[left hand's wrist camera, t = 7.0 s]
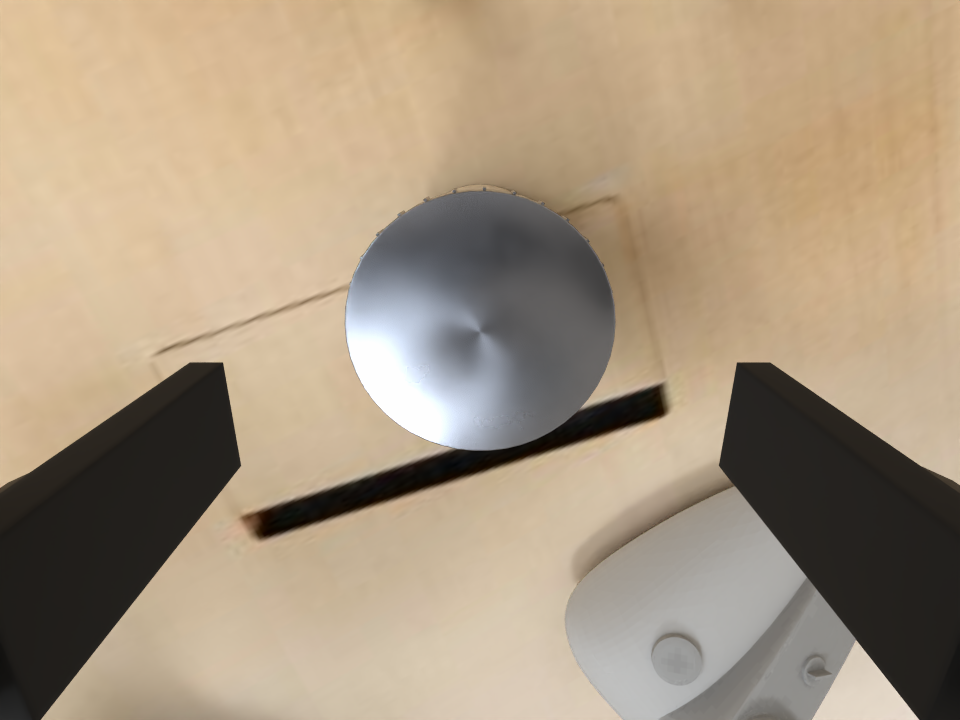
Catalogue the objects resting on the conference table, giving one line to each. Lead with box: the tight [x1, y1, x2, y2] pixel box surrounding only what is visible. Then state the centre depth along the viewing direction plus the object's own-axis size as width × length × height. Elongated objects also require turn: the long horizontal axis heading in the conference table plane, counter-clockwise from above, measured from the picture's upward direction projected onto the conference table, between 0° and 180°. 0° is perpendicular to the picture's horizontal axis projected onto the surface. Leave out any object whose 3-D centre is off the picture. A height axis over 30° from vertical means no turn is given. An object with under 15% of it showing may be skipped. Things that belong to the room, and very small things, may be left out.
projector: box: [565, 486, 856, 720], centre depth 35 cm, size 22×23×15 cm
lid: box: [345, 186, 616, 451], centre depth 20 cm, size 10×10×2 cm
